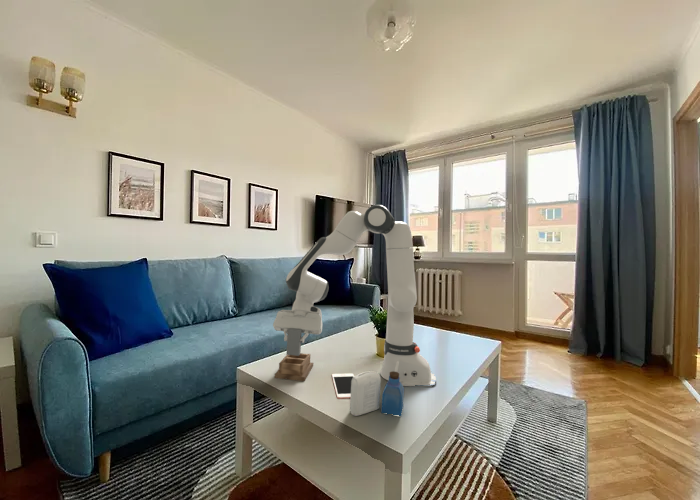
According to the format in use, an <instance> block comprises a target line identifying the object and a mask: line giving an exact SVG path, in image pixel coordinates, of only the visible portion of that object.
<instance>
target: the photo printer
mask: <svg viewBox="0 0 700 500" xmlns="http://www.w3.org/2000/svg"><path fill="white" fill-rule="evenodd" d="M381 379H382V378H381V374H380V372H378V371H374V370H369V371H367V370H366V371H363V372H360V373H358V374H356V375H354V377H353V378H352V382H351V398H349V412H350V414H351V415H352V416H355V417H358V416H362V415H365V414H368V413H370V412H374V411H377V410H378V409H379V408H380V396H381V395H380V394H381Z"/></svg>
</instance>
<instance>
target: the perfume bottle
mask: <svg viewBox="0 0 700 500" xmlns="http://www.w3.org/2000/svg"><path fill="white" fill-rule="evenodd" d="M399 379H400V378H399V373H398V372H394V371H393V372H390V376H389V380H387V382H386V384H385V386H384V388H383V391H382V395H381V397H382V398H381V410H380V411H381V414H383V413H387V414H386V415H388V414H393V415H399V416H401V417H402V414H401V413H403V410H402V409H403V408H404V398H405V396H404V395H405V388H404V386H402V384H401V382H399ZM393 415H392V416H393Z"/></svg>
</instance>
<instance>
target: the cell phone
mask: <svg viewBox="0 0 700 500" xmlns="http://www.w3.org/2000/svg"><path fill="white" fill-rule="evenodd" d="M353 377H355V375H354V373H332V374H331V378H332V382H333V385H334V391H335V394H336V398H337V399H338V400H339V399H341V400H343V399H350V398H351V382H352V378H353Z"/></svg>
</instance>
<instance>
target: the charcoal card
mask: <svg viewBox="0 0 700 500" xmlns="http://www.w3.org/2000/svg"><path fill="white" fill-rule="evenodd" d="M302 334H303V333H302V329H296V328H289V329H288V334H287V341H286V355H295V356H299V355H300V353H301V350H302V343H300V337H302V336H303V335H302ZM286 355H285V356H286Z"/></svg>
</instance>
